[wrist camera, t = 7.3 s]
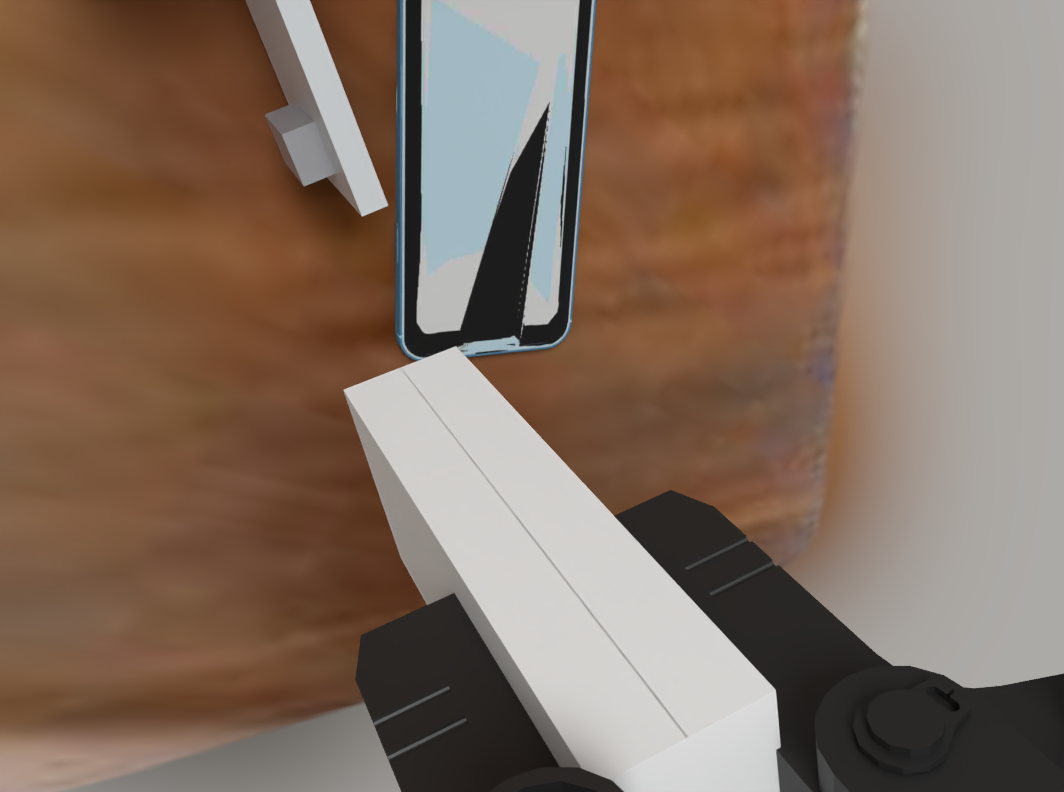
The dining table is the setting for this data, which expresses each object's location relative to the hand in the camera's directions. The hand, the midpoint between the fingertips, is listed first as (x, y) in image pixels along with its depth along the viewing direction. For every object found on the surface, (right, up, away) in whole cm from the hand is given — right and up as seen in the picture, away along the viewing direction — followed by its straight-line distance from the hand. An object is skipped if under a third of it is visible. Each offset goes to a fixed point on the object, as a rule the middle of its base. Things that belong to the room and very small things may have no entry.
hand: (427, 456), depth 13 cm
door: (-7, +13, +18) cm, 24 cm away
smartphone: (0, +10, +25) cm, 27 cm away
